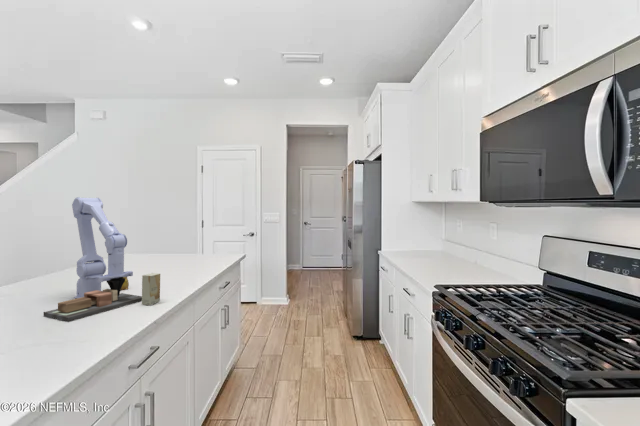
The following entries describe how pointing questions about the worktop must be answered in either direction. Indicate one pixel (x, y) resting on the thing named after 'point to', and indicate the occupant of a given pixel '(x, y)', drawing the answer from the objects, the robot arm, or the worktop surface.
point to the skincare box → (150, 288)
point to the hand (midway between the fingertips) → (115, 296)
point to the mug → (125, 284)
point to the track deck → (95, 305)
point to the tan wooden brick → (82, 302)
